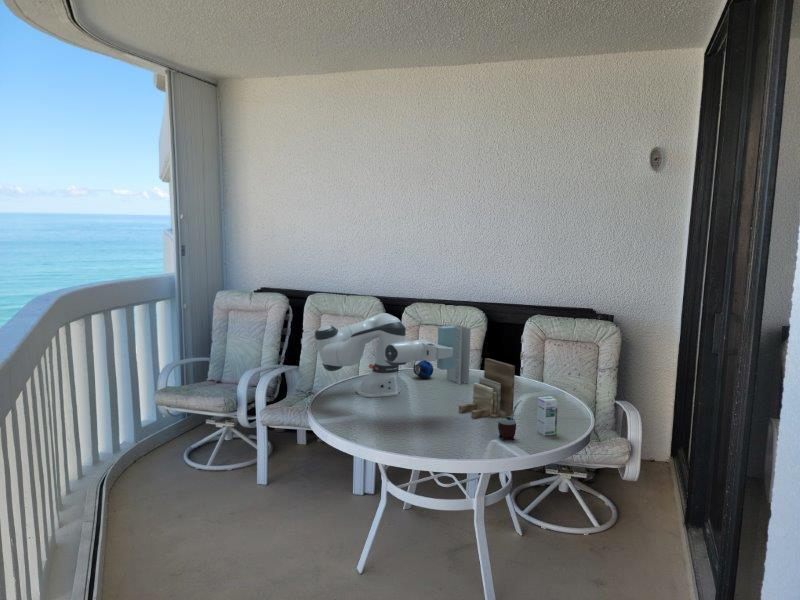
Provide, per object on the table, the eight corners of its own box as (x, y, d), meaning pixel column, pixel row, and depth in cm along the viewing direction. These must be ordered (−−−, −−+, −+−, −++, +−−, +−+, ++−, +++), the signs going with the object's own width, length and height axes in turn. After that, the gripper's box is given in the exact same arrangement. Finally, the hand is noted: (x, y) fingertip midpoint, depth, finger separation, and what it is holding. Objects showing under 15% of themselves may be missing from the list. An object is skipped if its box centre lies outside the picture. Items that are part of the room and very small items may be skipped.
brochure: (446, 378, 319) (448, 325, 316) (455, 377, 322) (457, 324, 318) (459, 384, 306) (461, 328, 303) (468, 383, 309) (470, 328, 306)
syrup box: (543, 436, 228) (545, 400, 226) (536, 431, 234) (537, 396, 232) (556, 435, 230) (558, 399, 228) (548, 430, 235) (550, 395, 234)
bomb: (410, 377, 319) (410, 351, 318) (424, 375, 326) (425, 349, 325) (422, 381, 312) (422, 354, 310) (436, 378, 319) (437, 351, 317)
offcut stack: (490, 413, 252) (491, 384, 251) (472, 406, 263) (473, 378, 262) (499, 412, 255) (500, 383, 254) (480, 404, 266) (481, 377, 265)
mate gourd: (494, 439, 223) (495, 401, 222) (502, 433, 230) (504, 396, 228) (512, 443, 219) (514, 404, 218) (520, 437, 226) (522, 400, 224)
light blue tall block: (442, 369, 247) (443, 328, 245) (437, 367, 251) (438, 327, 249) (455, 368, 251) (456, 327, 249) (449, 366, 254) (451, 326, 253)
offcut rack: (479, 421, 245) (481, 370, 243) (454, 409, 261) (455, 362, 258) (512, 414, 255) (514, 365, 253) (486, 404, 271) (488, 358, 268)
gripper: (408, 353, 252) (434, 350, 260) (435, 362, 235) (462, 358, 242) (408, 338, 252) (434, 336, 259) (436, 346, 234) (462, 344, 242)
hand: (448, 347), depth 250 cm, fingers closed on light blue tall block, 4 cm apart
